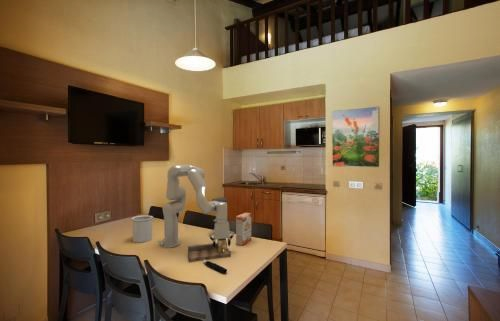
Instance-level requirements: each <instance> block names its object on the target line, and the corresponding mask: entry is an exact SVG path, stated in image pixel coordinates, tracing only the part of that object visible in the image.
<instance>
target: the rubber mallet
mask: <svg viewBox="0 0 500 321" xmlns="http://www.w3.org/2000/svg"><path fill="white" fill-rule="evenodd" d="M211 201H218V202H226V203H227V204H228V199H227V198H226V197H224V196H221V197H215V198H212V199H211Z"/></svg>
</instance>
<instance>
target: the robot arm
mask: <svg viewBox="0 0 500 321" xmlns="http://www.w3.org/2000/svg"><path fill="white" fill-rule="evenodd" d="M166 177H167V182H166V190H165V197H166V199H167V200H168V202H166V203H164V204H163V206H162V213H163V223H164V226H163V227H164V228H163V230H164V232H163V233H164V238H163V239H159V240H157V243H158V244H160V245H161V244H162V248H169V249H170V248H171V249H172V248H176V247H179V246H180V245H181V241H180V240H179V219H178V216H177V214H178V213H181V212H183V211H184V209H185V208H186V200H187V199H186V198H187V190H186V188H185V187H184V186H182V185H180V179H179V177H180V178H181V177H187V178H188V180H189V182H190V184H191V185H192V187H193V189H194V191H195V200H196V203H197V206H198V208H199V210H200V211H201V212H202V213H203V214H204V215H210V214H212V213H215V219H213V222H215V223H214V228H213V232H211V233H210V234H208V237H209V239H210V241H212V243H213V246H214V248H215V243H216V240H217V239H227V247H230V245H231V243H232V242H231V240H232V239H233V238H234V236H235V235H236V232H234V231H231V230H230V222H229V221H228V202H227V203H226V202H218V201H212V200H211V201H208V200H207V197H206V195H205V192H206V190H207V188H208V185H207V184H206V182H205V179H204V178H206V172H205V170H204V169H203V168H201V167H198V166H194V165H191V164H177V165H176V164H175V165H172V166H171V167H170V168H168V171H167V176H166ZM212 236H213V237H212Z"/></svg>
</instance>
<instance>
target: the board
mask: <svg viewBox="0 0 500 321" xmlns="http://www.w3.org/2000/svg"><path fill="white" fill-rule="evenodd" d="M226 250H227V251H225V253H223V251H220V252H219V251H218V243H217V242H215V248H214V246H213V242H211V243H204V244H203V243H202V244H195V245H194V244H193V245H187V258H188V259H187V260H188V263H192V262H194V263H195V262H200V261H203V260H205V261H209V260H214V259H221V258H230V257H231V256H232V254H231V252H230V250H229V248H228V241H226Z"/></svg>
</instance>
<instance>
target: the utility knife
mask: <svg viewBox="0 0 500 321" xmlns="http://www.w3.org/2000/svg"><path fill="white" fill-rule="evenodd" d="M202 261H203V263H204V264H205V265H206V266H207V267H209V268H211V269H213V270H214V271H217V272H219V273H221V274H226V273H227V272H228V269H227V268H225V267H223V266H221V265H219V264H217V263H215V262H212V261H209V260H202Z"/></svg>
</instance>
